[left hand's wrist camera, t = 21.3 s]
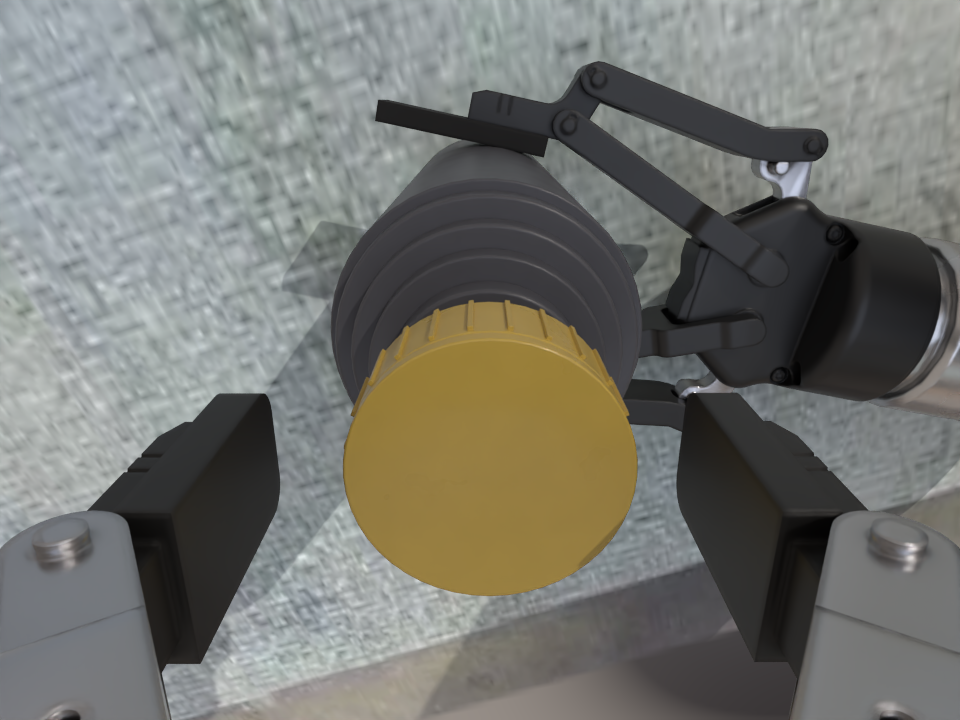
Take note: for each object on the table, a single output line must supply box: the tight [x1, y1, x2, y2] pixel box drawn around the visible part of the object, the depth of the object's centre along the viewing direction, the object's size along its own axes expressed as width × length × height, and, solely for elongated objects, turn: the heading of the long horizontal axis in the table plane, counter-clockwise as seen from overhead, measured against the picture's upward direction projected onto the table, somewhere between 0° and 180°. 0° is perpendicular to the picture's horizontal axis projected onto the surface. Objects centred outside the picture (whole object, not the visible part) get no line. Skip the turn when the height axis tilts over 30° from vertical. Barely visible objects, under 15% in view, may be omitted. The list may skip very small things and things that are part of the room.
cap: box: [343, 300, 638, 596], centre depth 11 cm, size 4×4×2 cm
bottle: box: [331, 140, 642, 405], centre depth 22 cm, size 7×7×25 cm
